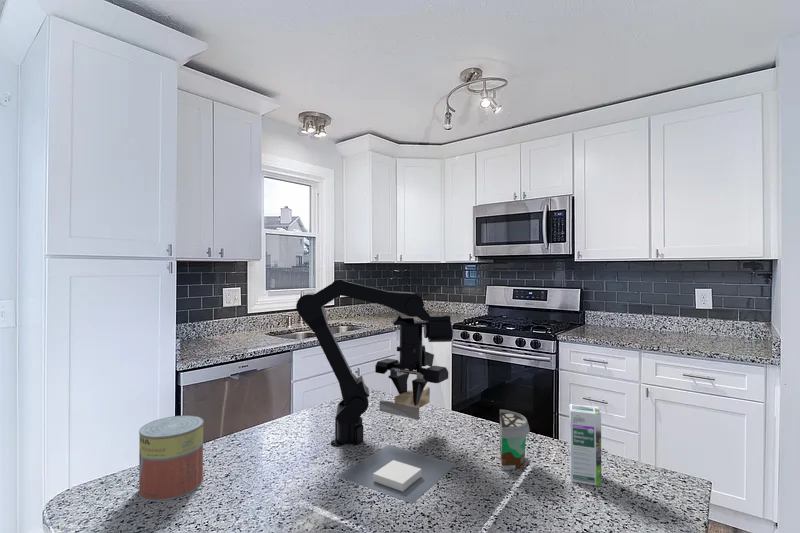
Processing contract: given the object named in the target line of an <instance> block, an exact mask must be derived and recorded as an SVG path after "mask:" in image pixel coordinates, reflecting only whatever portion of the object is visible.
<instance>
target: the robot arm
mask: <svg viewBox="0 0 800 533" xmlns="http://www.w3.org/2000/svg"><path fill="white" fill-rule="evenodd" d="M340 296H342V297H347V298H350V299H351V298H352V299H355V300H359V301H364V302H368V303H372V304H376V305H381V306H385V307H387V308H390V309H392V310H394V311H395V312H399V313H401V314H403V315H405V316H408V317H402V316H401V315H400V314H398V315H397V316H396V317H395V318H394V319H393V320H392V321H391V322H392V325H393V326H399V346H396V352H399V360H398V359H395V358H389V357H388V358H385V359H381V360H378V361H377V362H376V364H374V365H375V368H374V369H375V370H374V372H375V373H376V374H382V375H385V374H386V373H387V372H388V371H390V372H389V375H388V379H391V381H392V383H393V384H394V386H395V387H394V388H396V390H397V392H398V395H400V394H402V393H404V392H407V391H408V380H409V376H410V374H411V375H416V378H415V379H413V380H411V386H412V388H411V389H413V400H414V405H415V406H417V405H418V403H419V400H420V398H421V395H422V392H423V389H424V387H426V385H427V383H433V384H440V383H442V382H444V381H446V380H448V379H449V371H448V368H447V367H446V366H440V365H433V363H434V357H435V354H433V353H430V352H428V351H426V346H425V345H423V336H424V339H427V340H428V343H452V341H453V336H454V329H453V325H452V321H451V315H449V314H443V315H430V313H429V312H428V311H427V310H426V309H425V306H424V305H425V303H424V300H423V298H422V296H420V295H419V294H416V293H415V292H410V291H409V292H408V291H391V290H390V291H389V290H384V289H379V288H376V287H371V286H366V285H363V284H358V283H354V282H350V281H347V280H345V279H342V278H339V279H338V278H337V279H335V280H334V281H333V282H332V283H331V284H329V285H327V286H325V287H324V288H322V289H320V290H318V291H317V292H315V293H314V292H308V293H305V294H304V295H301V296H300V297H299V298H298V300H297V302H296V305H295V306H296V307H295V309H296V311H297V314H298V315H299V316H300V318H301V319H302V320H303V322H304V323H305V325H307V326H308V328H310V330H311V331H312V332H313V334H314V335H315V338H316V339H317V341H318V343H319V345H320V347H321V349H322V351H323V354H324V355H325V358H326V359H327V362H328V363H329V366H330V368H331V369H332V372H333V374H334V375H335V378H336V379H337V381H338V385H339V389H340V393H341V397H342V400H341V401H339V403H338V404H337V406H336V408H337V409H336V416H335V417H334V435H335V436H334V439H332V440H331V441H330V444H331V445H333V446H336V447H342V446H345V445H353V446H355V445H356V446H358V445H359V444H361V443H363V442H364V425H363V417H362V415H363V414H364V413H365V412H367V410H368V408H369V397H370V391H369V387H368V386H367V385H366V383H365V380H364V378H363V375H360V376H359V377H357V376H356V375H355V374H354V373H353V371H352V370H351V367H350V366H349V363H348V361H347V359H346V357H345V355H344V353H343V351H342V349H341V348H340V345H339V343H338V341H337V339H336V337H335V335H334V333H333V331H332V329H331V327H330V325H329V322H328V318H327V314H326V309H325V306H326V305H327V304H329V303H331V302H332V301H334V300H335V299H337V298H338V297H340ZM414 317H417V318H418V319H420V320H421V321H420V320H418V321H417V320H415V319H414ZM427 366H428V367H427Z"/></svg>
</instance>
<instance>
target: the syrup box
mask: <svg viewBox="0 0 800 533" xmlns="http://www.w3.org/2000/svg"><path fill="white" fill-rule="evenodd" d="M568 408H569V409H568V410H569V414H568V416H569V474H570V481H571V483H579V484H583V485H590V486H596V487H599V488H600V487H602V483H603V482H602V481H603V480H602V415H601V414H602V413H601V411H600V408H599V406H598V405H597V406H596V405H593V406H592V405H583V404H575V403H570V404H569V406H568Z"/></svg>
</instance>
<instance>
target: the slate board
mask: <svg viewBox="0 0 800 533" xmlns="http://www.w3.org/2000/svg"><path fill="white" fill-rule="evenodd" d="M393 460H395V461H398V462H401V463H404V464H407V465H411V466H414V467H417V468H420V469H421V477H420V478H419V479H417V480H416V481H415V482H414V483H413V484H411V485H410V486H409V487H408V488H407V489H405V490H404V491H403V492H402V491H399V490H397V489H394V488H391V487H388V486H385V485H383V484H380V483H377V482H374V481H373V473H375V472H376V471H378V470H379V469H381V468H382V467H384V466H385V465H387V464H388V463H390V462H391V461H393ZM456 465H457V464H456V463H453V462H449V461H445V460H442V459H439V458H436V457H432V456H428V455H425V454H421V453H418V452H415V451H412V450H408V449H405V448H401V447H397V446H394V445H391V444H388V445H385V446H384V447H383V448H381V449H379V450H378V451H376V452H374V453H372V454H371V455H370V456H368V457H366V458H365V459H363V460H361V461H359V462H358V463H356V464H354V465H353V466H351V467H350V468H348V469H347V470H345V471H343V472H341V473H340V474H338V475H337V477H340V478H342V479H344V480H347V481H350V482H352V483H355V484H358V485H360V486H363V487H365V488H369V489H371V490H373V491H377V492H379V493H382V494H385V495H388V496H390V497H392V498H396V499H398V500H400V501H402V502H403V501H404V502H406V503H409V504H411V505H413V504H414V503H415V502H417V501H418V500H419V499H420V498H421V497H422V496H423V495H424V494H425V493H427V491H429V490H431V488H432V487H433V486H434V485H435V484H436V483H438V481H440V480H441V479H442V478H443V477H445V475H447V473H449V472H450V471H451V470H452V469H453V468H454V467H455V466H456Z"/></svg>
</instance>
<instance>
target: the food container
mask: <svg viewBox="0 0 800 533" xmlns="http://www.w3.org/2000/svg"><path fill="white" fill-rule="evenodd" d="M530 431H531V430H530V426H529V422H528V419H527V418H526V417H525V416H524V415H522V414H521V413H518V412H517V411H516V412H515V411H511V410H507V409H499V451H500V452H499V453H500V462H501V470H505V471H509V470H516V469H519V468H521V467H523V466H524V464H525V455H526V442H527V435H528V434H529V433H530Z"/></svg>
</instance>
